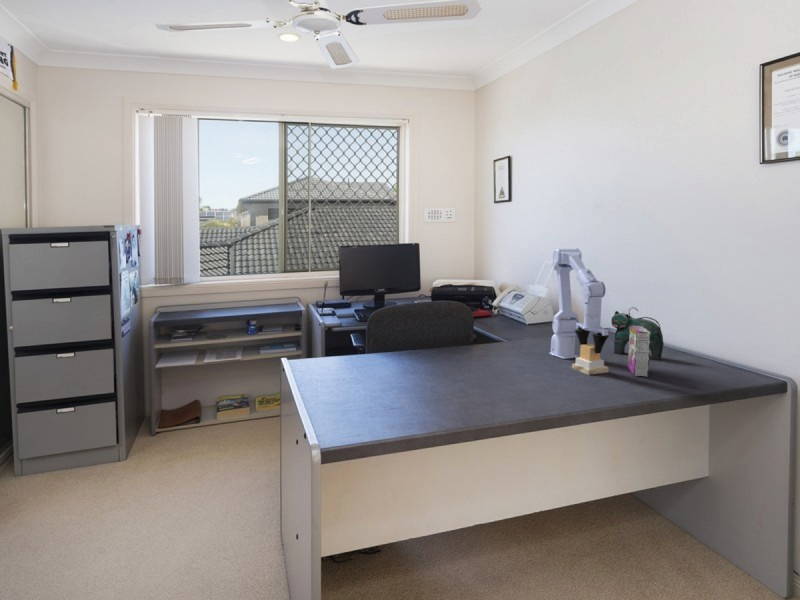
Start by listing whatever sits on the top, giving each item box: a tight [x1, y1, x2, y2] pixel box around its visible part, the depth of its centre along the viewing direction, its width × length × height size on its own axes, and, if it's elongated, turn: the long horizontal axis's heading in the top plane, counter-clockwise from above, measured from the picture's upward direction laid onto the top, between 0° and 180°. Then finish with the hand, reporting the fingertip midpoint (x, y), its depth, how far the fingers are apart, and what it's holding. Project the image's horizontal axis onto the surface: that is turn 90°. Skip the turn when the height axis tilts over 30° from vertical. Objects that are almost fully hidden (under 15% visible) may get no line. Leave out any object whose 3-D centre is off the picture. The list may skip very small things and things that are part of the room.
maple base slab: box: [571, 362, 609, 376], centre depth 194 cm, size 9×9×2 cm
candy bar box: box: [627, 326, 651, 378], centre depth 190 cm, size 11×5×16 cm, turn 168°
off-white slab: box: [575, 356, 605, 369], centre depth 194 cm, size 7×7×2 cm
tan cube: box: [579, 343, 601, 361], centre depth 193 cm, size 5×5×5 cm
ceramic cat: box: [611, 306, 665, 360], centre depth 214 cm, size 20×6×20 cm, turn 49°
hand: (590, 350), depth 193 cm, fingers open, 7 cm apart
